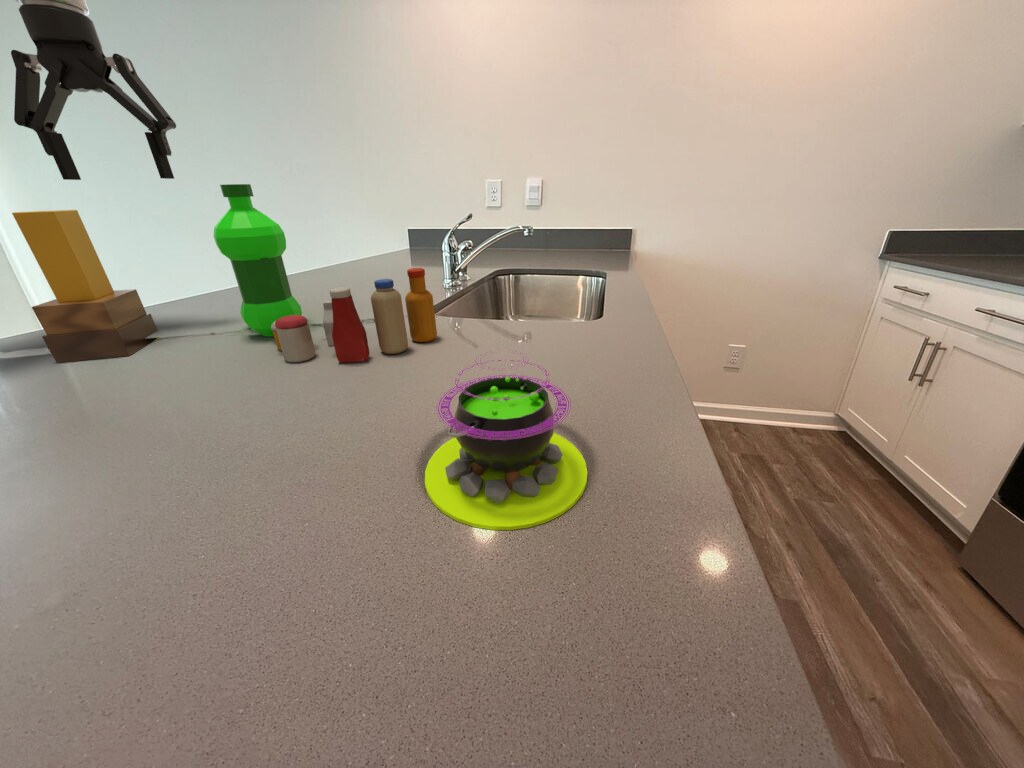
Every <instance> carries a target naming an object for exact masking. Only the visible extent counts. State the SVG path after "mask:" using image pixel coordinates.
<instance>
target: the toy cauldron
mask: <svg viewBox="0 0 1024 768" xmlns="http://www.w3.org/2000/svg"><path fill="white" fill-rule="evenodd" d="M496 352H500V349H499V350H498V349H497V350H496V351H490V352H489V351H487V352H486V353H483V354H480V355H478V356H477V357H476V359H477V360H479V361H476V362H475V364H472V365H469V366H468V367H465V368H464V369H462V370H461V371H460V372H458V374H457V375H456V378H454V384H455V386H453V387H451V388H450V389H448V390H447V391H446V392H445V393H443V394H442V396H441V397H440V398H439V399H438V401H437V404H436V407H435V410H436V415H437V417H438V419H439V420H440V421H441V423H442V424H443V425H444V426H446V427H448V428H447V435H448V436H449V437H450V438H451V439H449V440H448V441H446V442H444V443H443V444H442V445H441V446H440V447H439V448H438V449H436V451H435V452H434V453H433V455H432V456H431V457H430V459H429V460H428V462H427V465H426V467H425V470H424V487H425V490H426V494H427V496H428V498H429V499H430V501H431V503H432V505H434V506H435V507H436V508H438V510H439V511H440V512H441V513H443V515H446V516H447V517H448V518H451V519H453V520H454V521H456V522H458V523H462V524H464V525H468V526H470V527H473V528H479V529H483V530H485V529H486V530H489V531H492V530H493V531H514V530H521V529H528V528H532V527H536V526H539V525H542V524H546V523H548V522H550V521H552V520H554V519H556V518H558V517H560V516H562V515H564V514H565V513H566V512H567V511H568V510H570V509H571V508H572V507H574V506H575V505H576V503H577V502H578V501H579V500H580V499H581V498H582V496H583V494H584V492H585V489H586V487H587V484H588V474H589V473H588V468H587V463H586V462H587V461H586V460H585V458H584V457H583V454H582V453H581V452H580V450H579V449H578V448H577V447H576V446H575V444H573V443H572V442H571V441H569V440H568V439H566V438H565V437H564V436H562V435H559V434H558V433H556V432H554V428H556V427H557V426H558V425H559V424H561V423H562V422H563V421H564V420H565V419H567V417H568V416H569V414H570V412H571V410H572V401H571V399H570V397H569V395H568V394H567V393H564V391H563V389H562V387H559V386H558V385H557V384H553V383H551V379H550V373H549V372H548V371H547V369H545V368H544V367H543V366H541V365H539V364H536V363H534V362H530V361H528V359H529V357H528V356H527V355H526V354H525V353H523V352H520V351H519V353H518V351H517V350H510V349H509V352H511V353H513V354H514V353H515V354H516V355H519V356H521V357H522V358H523V360H522V361H521V360H519V359H518V360H516V362H518V363H520V366H519V365H515V366H514V367H513V366H512V367H510V371H512V370H514V369H515V370H517V369H519V368H522V367H524V366H525V365H533V366H536V367H537V368H538V369H540V370H541V371H542V372H544V371H545V372H544V373H545V376H546V379H545V380H544V379H541V378H539V377H535V376H532V378H531V376H529V375H526V374H524V375H521V374H514V373H512V374H502V373H501V374H494V375H491V374H490V375H487V376H480V377H476V378H473V379H468V380H467V381H465V382H460V380H459V379H460V378H461V376H462V375H463V373H465V372H466V371H467V370H469V369H471V368H474V367H475V366H477V367H479V368H482V369H484V370H486V368H487V371H490V370H492V367H490V366H487V365H485V367H483V366H484V364H487V363H490V360H487V361H481V360H482V358H484V357H485V356H488V355H491V354H492V353H493V354H494V353H496ZM525 358H526V359H525ZM503 361H504V362H505V361H506V362H507V361H508V362H515V359H498V362H503ZM491 362H494V359H493V360H491ZM495 371H497V372H498V371H499V372H501V371H502V372H503V371H507V367H505V368H498V367H497V368H496V367H494V372H495ZM547 391H548V392H550V393H551V394H552V395H553V396H554V399H555V400H556V402H555V404H556V407H555V410H553V408H552V405H551V402H550V398H549V393H548V392H547ZM459 393H460V394H459ZM458 394H459V396H458V403H457V407H456V410H455V413H454V415H453V413H452V411H451V404H452V401H453V399H454V398H455V397H456V395H458ZM560 399H561V400H560ZM452 431H454V432H455V433H454V432H452Z"/></svg>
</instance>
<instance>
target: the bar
mask: <svg viewBox="0 0 1024 768" xmlns="http://www.w3.org/2000/svg"><path fill="white" fill-rule="evenodd" d="M11 215H12V216H13V218H14V220H15V222H16V224H17V227H18V228H19V229H20V232H21V234H22V235H23V237H24V240H25V241H26V243H27V245H28V247H29V249H30V251H31V253H32V254H33V256H34V258H35V260H36V262H37V264H38V266H39V268H40V270H41V272H42V274H43V276H44V278H45V280H46V282H47V283H48V286H49V288H50V290H51V291H52V293H53V295H54V297H55V299H57V301H58V302H70V301H84V300H96V299H99V298H101V297H104V296H107V295H110V294H112V293H114V291H115V290H114V289H113V286H112V284H111V282H110V280H109V279H110V278H108V275H107V273H106V271H105V269H104V266H103V263H102V262H101V260H100V258H99V255H98V253H97V251H96V248H95V246H94V245H93V242H92V240H91V238H90V236H89V233H88V231H87V229H86V227H85V225H84V222H83V220H82V218H81V216H80V214H79V211H78V210H77V209H63V210H62V209H61V210H59V209H58V210H57V209H56V210H34V211H33V210H32V211H17V212H16V211H15V212H12V213H11Z"/></svg>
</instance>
